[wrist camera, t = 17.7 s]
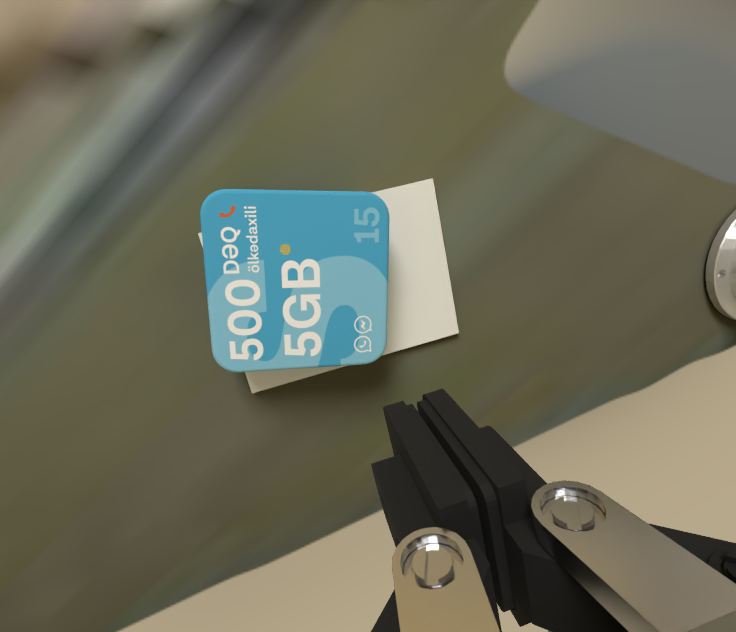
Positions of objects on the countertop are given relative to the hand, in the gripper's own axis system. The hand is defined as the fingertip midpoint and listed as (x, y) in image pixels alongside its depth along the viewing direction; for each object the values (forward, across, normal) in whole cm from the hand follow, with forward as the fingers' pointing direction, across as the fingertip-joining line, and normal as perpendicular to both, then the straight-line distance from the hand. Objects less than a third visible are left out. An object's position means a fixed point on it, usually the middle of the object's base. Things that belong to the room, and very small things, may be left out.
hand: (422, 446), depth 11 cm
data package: (+20, -4, 0) cm, 21 cm away
